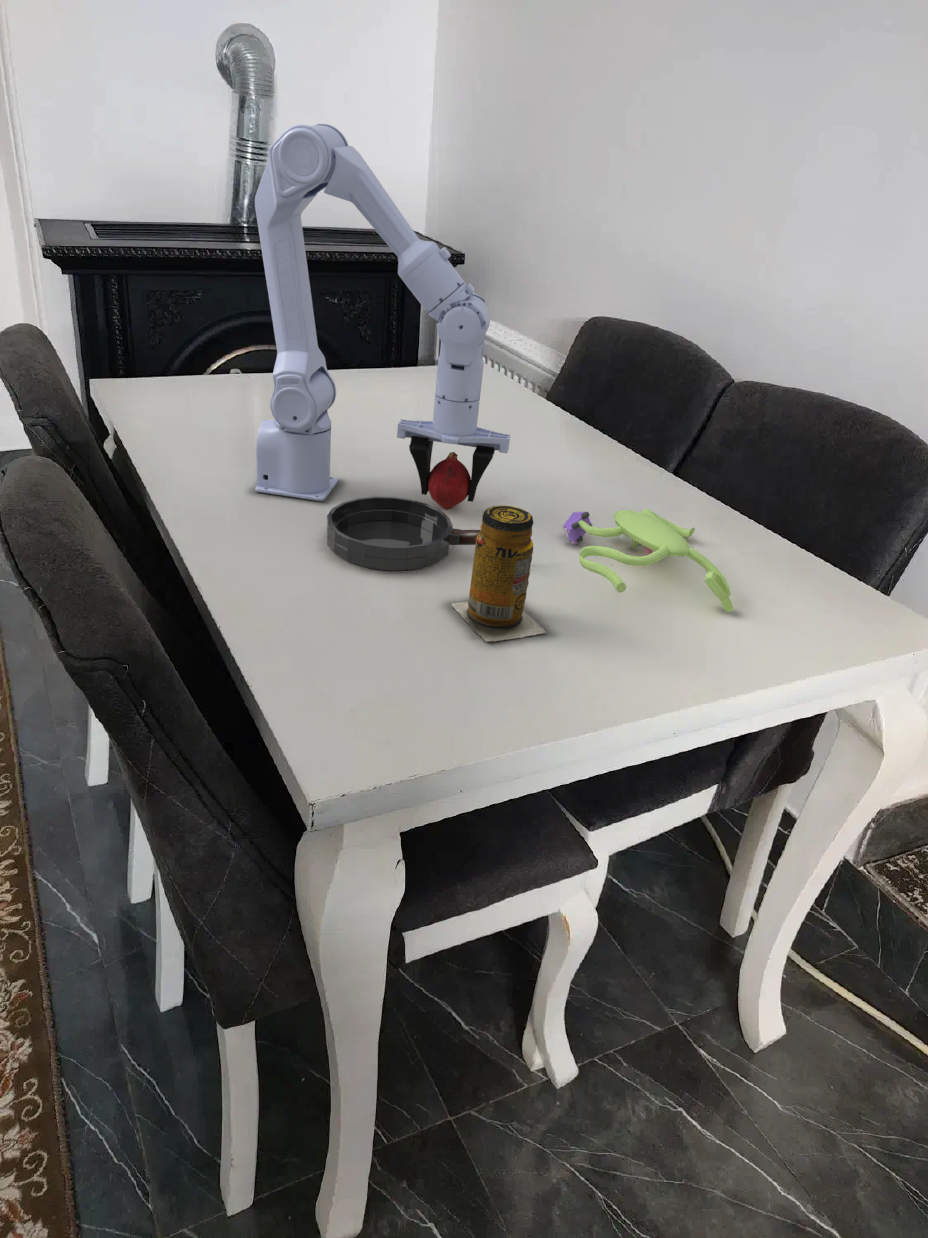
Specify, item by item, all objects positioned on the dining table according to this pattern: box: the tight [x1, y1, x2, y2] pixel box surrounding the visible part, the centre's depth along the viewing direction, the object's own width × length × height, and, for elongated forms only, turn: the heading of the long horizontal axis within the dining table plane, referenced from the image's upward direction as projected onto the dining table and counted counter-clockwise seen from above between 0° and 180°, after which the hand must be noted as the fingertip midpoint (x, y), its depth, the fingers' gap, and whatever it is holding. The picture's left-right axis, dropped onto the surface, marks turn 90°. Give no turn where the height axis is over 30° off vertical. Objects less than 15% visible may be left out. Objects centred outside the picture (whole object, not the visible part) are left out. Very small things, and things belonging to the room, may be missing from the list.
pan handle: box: [449, 527, 481, 546], centre depth 110 cm, size 10×2×3 cm, turn 82°
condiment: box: [450, 504, 547, 642], centre depth 96 cm, size 7×8×12 cm
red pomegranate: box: [428, 451, 471, 511], centre depth 122 cm, size 6×6×8 cm
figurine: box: [562, 508, 735, 613], centre depth 113 cm, size 18×27×6 cm
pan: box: [326, 495, 454, 573], centre depth 112 cm, size 15×15×3 cm
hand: (447, 495), depth 123 cm, fingers closed on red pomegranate, 6 cm apart
